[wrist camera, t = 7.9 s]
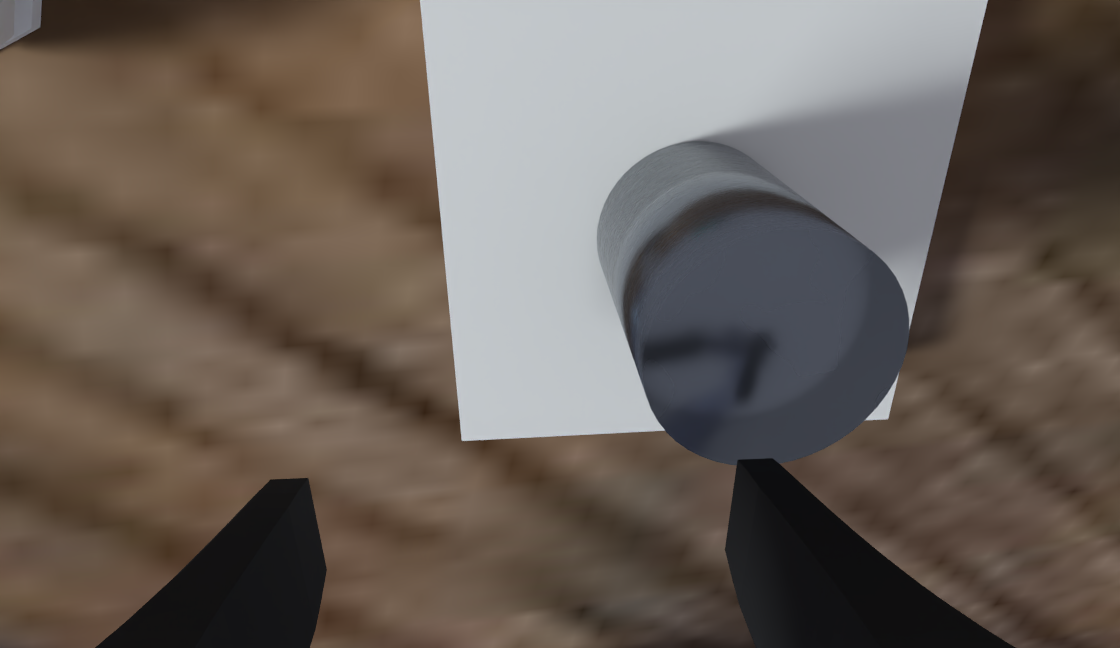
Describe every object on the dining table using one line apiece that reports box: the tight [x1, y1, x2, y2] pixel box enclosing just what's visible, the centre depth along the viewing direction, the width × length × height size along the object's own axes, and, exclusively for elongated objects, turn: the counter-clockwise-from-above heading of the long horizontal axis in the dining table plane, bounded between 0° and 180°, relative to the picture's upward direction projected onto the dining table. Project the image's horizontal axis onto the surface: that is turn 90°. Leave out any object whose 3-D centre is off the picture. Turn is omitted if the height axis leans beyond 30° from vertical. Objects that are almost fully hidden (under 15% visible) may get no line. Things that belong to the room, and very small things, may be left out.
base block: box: [420, 0, 988, 441], centre depth 18 cm, size 12×12×3 cm
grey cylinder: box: [597, 141, 909, 465], centre depth 15 cm, size 4×4×6 cm
